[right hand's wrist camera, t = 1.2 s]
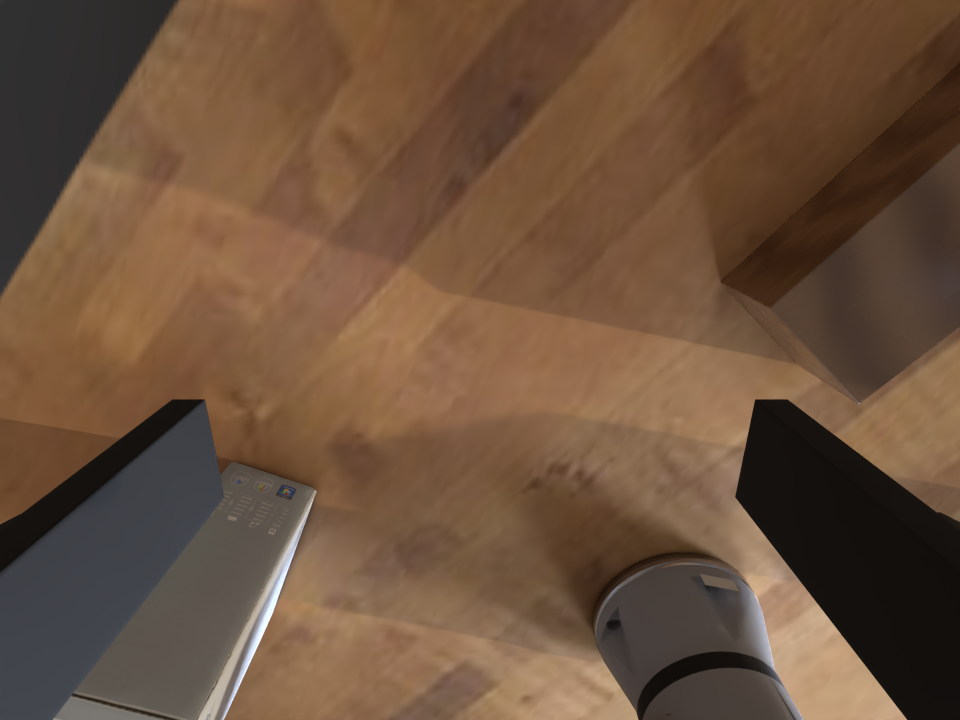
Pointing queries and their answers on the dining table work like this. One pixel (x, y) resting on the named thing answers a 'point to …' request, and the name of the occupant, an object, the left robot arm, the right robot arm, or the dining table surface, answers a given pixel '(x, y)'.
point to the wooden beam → (869, 256)
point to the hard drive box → (202, 610)
